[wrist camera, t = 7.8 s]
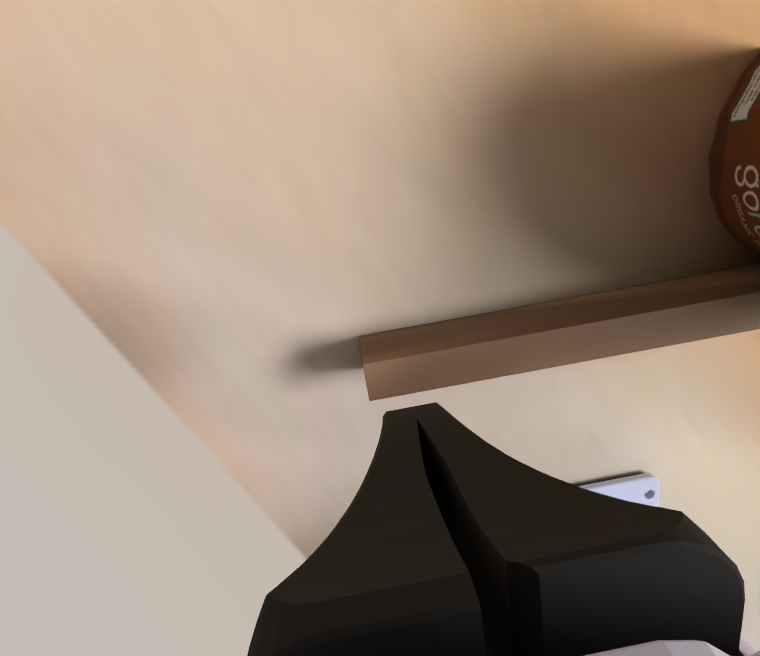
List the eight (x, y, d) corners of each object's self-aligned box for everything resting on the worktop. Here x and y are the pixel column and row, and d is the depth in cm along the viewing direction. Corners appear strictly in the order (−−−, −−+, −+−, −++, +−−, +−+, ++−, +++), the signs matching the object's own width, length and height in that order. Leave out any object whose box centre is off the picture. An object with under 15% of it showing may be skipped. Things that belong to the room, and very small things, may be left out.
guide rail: (938, 263, 23) (1024, 279, 20) (364, 368, 22) (369, 401, 19) (992, 22, 20) (1104, 1, 17) (321, 133, 19) (319, 130, 16)
